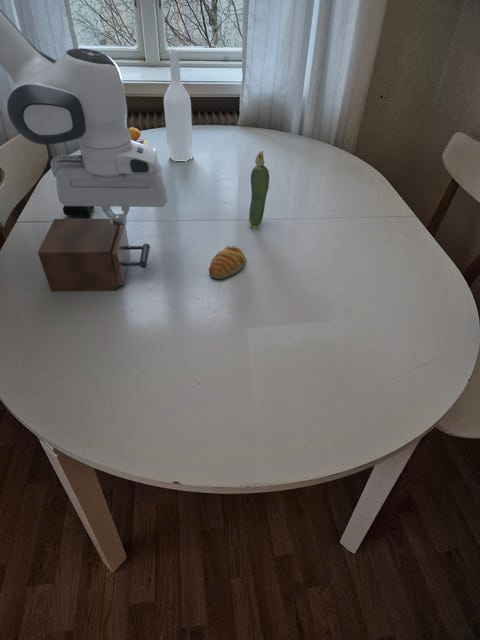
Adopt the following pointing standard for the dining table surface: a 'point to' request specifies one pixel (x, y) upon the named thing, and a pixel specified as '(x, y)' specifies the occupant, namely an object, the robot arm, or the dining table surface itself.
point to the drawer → (126, 254)
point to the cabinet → (79, 255)
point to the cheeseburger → (137, 136)
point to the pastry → (227, 262)
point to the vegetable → (258, 191)
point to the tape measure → (78, 211)
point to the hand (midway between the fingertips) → (119, 223)
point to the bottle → (178, 114)
